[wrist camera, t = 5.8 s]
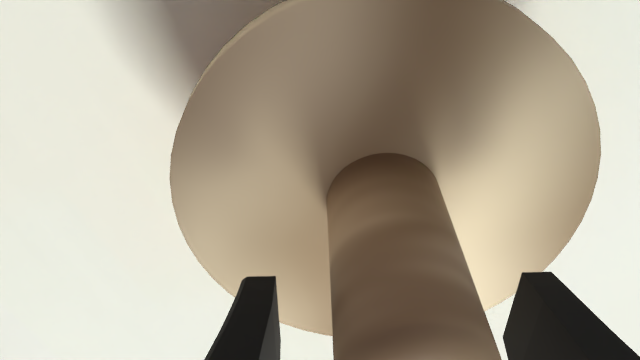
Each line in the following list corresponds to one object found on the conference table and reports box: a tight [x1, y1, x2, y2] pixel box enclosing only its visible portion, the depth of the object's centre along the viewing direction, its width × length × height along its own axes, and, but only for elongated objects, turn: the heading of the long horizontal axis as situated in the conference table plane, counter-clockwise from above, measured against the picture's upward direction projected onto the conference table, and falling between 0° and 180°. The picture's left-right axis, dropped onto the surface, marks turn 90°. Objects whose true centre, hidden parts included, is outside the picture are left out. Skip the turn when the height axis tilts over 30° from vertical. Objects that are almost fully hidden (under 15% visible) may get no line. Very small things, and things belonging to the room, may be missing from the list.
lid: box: [170, 0, 601, 360], centre depth 11 cm, size 10×10×6 cm
